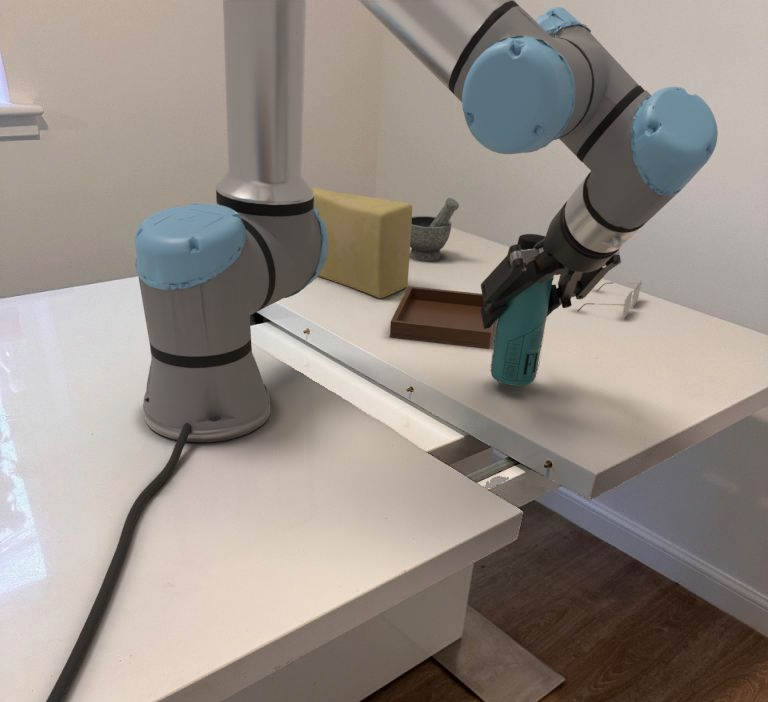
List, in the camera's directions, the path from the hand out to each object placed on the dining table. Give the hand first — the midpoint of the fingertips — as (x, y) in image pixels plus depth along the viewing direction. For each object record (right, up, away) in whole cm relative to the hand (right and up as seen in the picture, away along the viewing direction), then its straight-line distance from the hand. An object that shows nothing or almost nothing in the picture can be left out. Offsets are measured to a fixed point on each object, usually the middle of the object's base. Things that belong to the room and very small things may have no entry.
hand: (509, 317), depth 97 cm
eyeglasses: (+23, +11, +32) cm, 41 cm away
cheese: (-24, +17, +37) cm, 47 cm away
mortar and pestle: (-8, +26, +52) cm, 58 cm away
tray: (-7, +5, +21) cm, 23 cm away
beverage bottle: (+1, -9, +2) cm, 9 cm away
